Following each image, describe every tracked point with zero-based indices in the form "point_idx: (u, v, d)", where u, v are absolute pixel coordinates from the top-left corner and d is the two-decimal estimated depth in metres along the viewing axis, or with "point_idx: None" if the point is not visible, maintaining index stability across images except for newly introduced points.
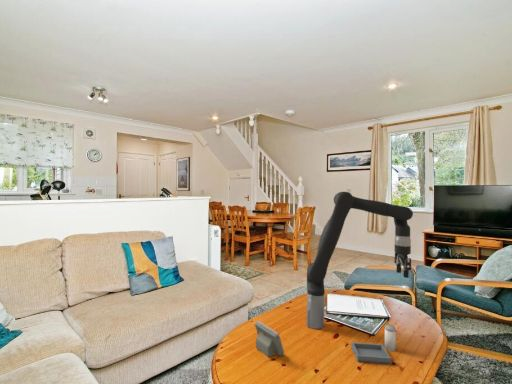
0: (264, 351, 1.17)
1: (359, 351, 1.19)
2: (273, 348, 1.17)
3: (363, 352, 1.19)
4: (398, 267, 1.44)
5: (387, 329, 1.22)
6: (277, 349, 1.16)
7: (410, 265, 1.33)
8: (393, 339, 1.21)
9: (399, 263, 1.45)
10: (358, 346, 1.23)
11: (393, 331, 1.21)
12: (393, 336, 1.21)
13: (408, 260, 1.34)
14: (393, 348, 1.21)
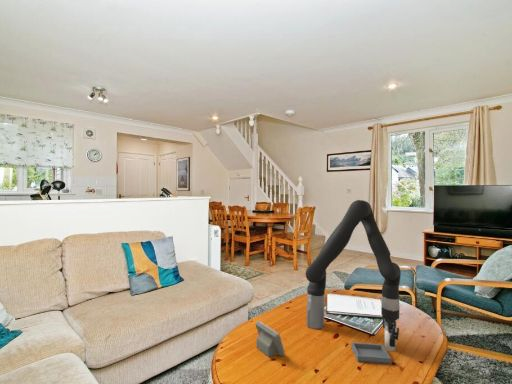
0: (264, 351, 1.17)
1: (359, 351, 1.19)
2: (274, 348, 1.17)
3: (363, 352, 1.19)
4: None
5: (387, 329, 1.22)
6: (278, 349, 1.16)
7: (397, 335, 1.18)
8: None
9: None
10: (358, 346, 1.23)
11: None
12: None
13: (396, 331, 1.17)
14: (393, 348, 1.21)
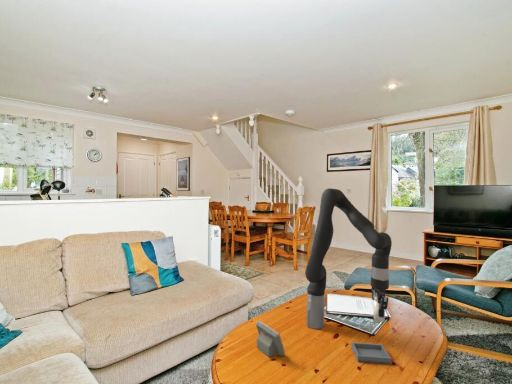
0: (265, 351, 1.17)
1: (359, 351, 1.19)
2: (274, 348, 1.17)
3: (363, 352, 1.19)
4: None
5: (376, 300, 1.20)
6: (278, 349, 1.16)
7: (386, 305, 1.15)
8: None
9: None
10: (358, 346, 1.23)
11: None
12: None
13: (385, 300, 1.14)
14: (382, 319, 1.19)
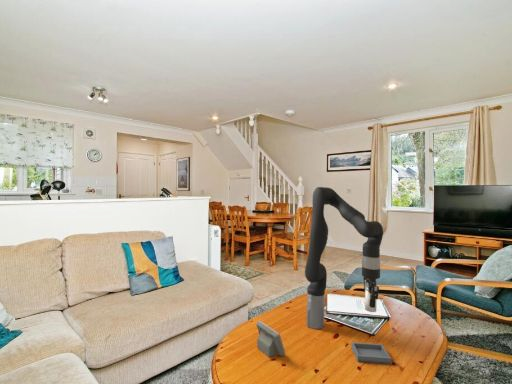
0: (265, 351, 1.17)
1: (359, 351, 1.19)
2: (274, 348, 1.17)
3: (363, 352, 1.19)
4: None
5: (367, 289, 1.17)
6: (278, 349, 1.16)
7: (377, 294, 1.12)
8: None
9: None
10: (358, 346, 1.23)
11: None
12: None
13: (375, 289, 1.12)
14: (374, 309, 1.16)
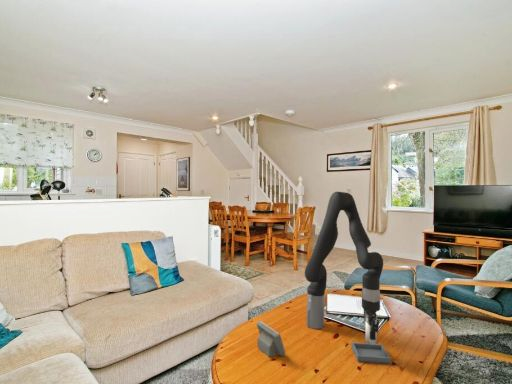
0: (265, 351, 1.17)
1: (359, 351, 1.19)
2: (274, 348, 1.17)
3: (363, 352, 1.19)
4: None
5: None
6: (278, 350, 1.16)
7: (377, 327, 1.12)
8: None
9: None
10: (358, 346, 1.23)
11: None
12: None
13: (375, 323, 1.11)
14: (374, 341, 1.16)
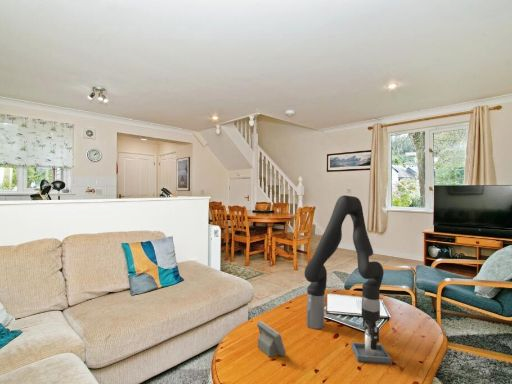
0: (265, 351, 1.17)
1: (359, 351, 1.19)
2: (275, 348, 1.17)
3: (363, 352, 1.19)
4: None
5: (367, 334, 1.17)
6: (279, 350, 1.16)
7: (378, 336, 1.11)
8: None
9: None
10: (358, 346, 1.23)
11: None
12: None
13: (375, 330, 1.11)
14: (373, 354, 1.16)
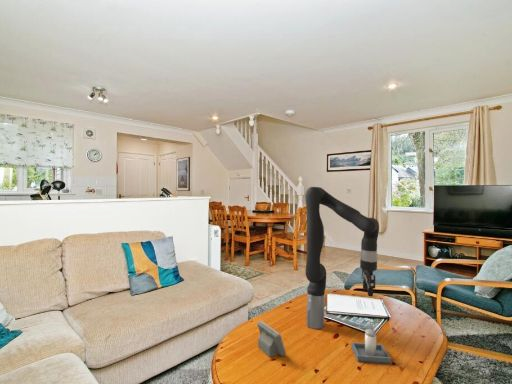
0: (266, 351, 1.17)
1: (359, 351, 1.19)
2: (275, 348, 1.17)
3: (363, 352, 1.19)
4: (364, 283, 1.32)
5: (367, 334, 1.17)
6: (279, 350, 1.16)
7: (374, 283, 1.21)
8: (373, 344, 1.16)
9: (366, 279, 1.33)
10: (358, 346, 1.23)
11: (373, 336, 1.16)
12: (373, 341, 1.16)
13: (372, 277, 1.21)
14: (373, 354, 1.16)
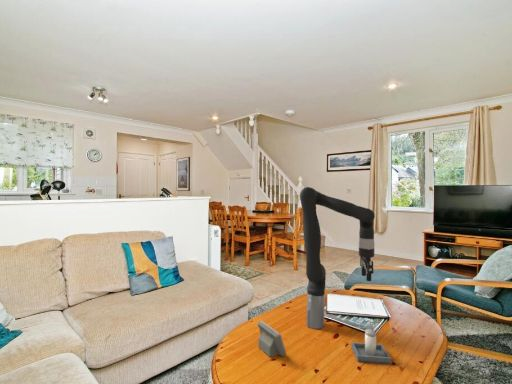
0: (266, 351, 1.18)
1: (359, 351, 1.19)
2: (275, 348, 1.17)
3: (363, 352, 1.19)
4: (363, 270, 1.41)
5: (367, 334, 1.17)
6: (279, 350, 1.16)
7: (372, 268, 1.30)
8: (373, 344, 1.16)
9: None
10: (358, 346, 1.23)
11: (373, 336, 1.16)
12: (373, 341, 1.16)
13: (370, 263, 1.31)
14: (373, 354, 1.16)
